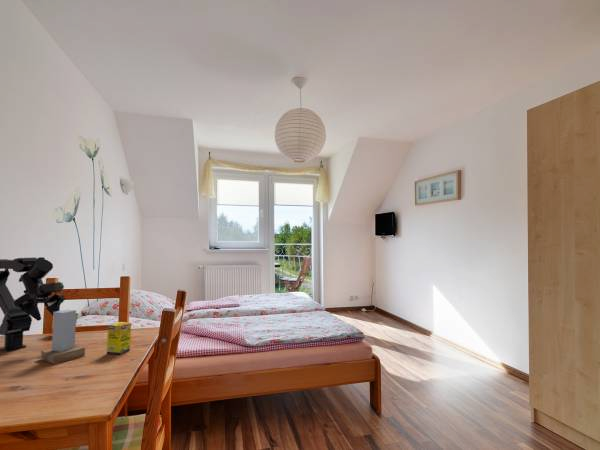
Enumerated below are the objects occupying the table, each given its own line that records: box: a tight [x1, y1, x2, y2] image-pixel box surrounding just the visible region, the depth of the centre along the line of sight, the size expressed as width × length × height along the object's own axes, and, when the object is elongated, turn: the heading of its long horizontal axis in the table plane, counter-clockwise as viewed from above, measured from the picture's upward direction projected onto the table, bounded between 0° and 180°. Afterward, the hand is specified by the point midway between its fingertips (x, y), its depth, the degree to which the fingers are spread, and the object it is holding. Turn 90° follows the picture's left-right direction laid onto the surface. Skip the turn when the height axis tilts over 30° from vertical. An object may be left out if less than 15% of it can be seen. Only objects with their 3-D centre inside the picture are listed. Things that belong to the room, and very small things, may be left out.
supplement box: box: [106, 321, 132, 355], centre depth 130 cm, size 6×6×11 cm
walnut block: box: [40, 344, 86, 365], centre depth 123 cm, size 10×10×3 cm
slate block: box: [51, 309, 77, 352], centre depth 124 cm, size 5×5×14 cm
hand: (49, 319), depth 128 cm, fingers open, 9 cm apart
